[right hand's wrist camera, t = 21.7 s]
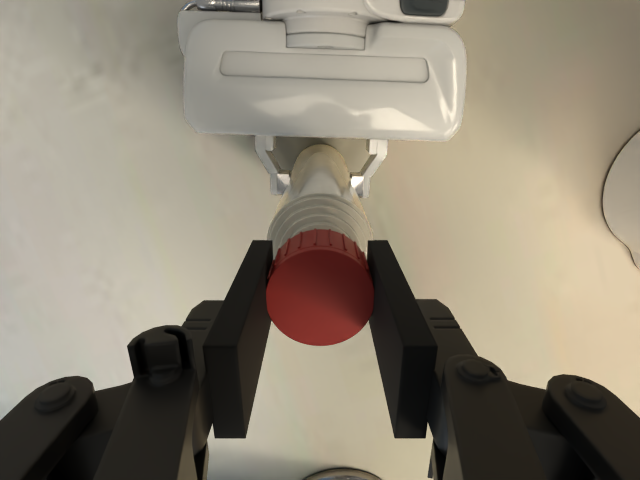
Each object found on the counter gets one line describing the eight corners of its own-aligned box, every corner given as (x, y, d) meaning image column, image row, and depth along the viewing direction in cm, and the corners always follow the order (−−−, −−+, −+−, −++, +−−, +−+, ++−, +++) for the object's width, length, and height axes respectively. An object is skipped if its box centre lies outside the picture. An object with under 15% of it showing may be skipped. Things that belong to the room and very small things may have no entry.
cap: (251, 257, 14) (241, 282, 12) (339, 208, 14) (342, 227, 12) (303, 330, 15) (300, 363, 13) (386, 289, 15) (396, 317, 13)
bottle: (354, 181, 36) (412, 319, 13) (309, 204, 37) (292, 369, 14) (331, 134, 34) (354, 200, 12) (284, 159, 35) (222, 264, 13)
